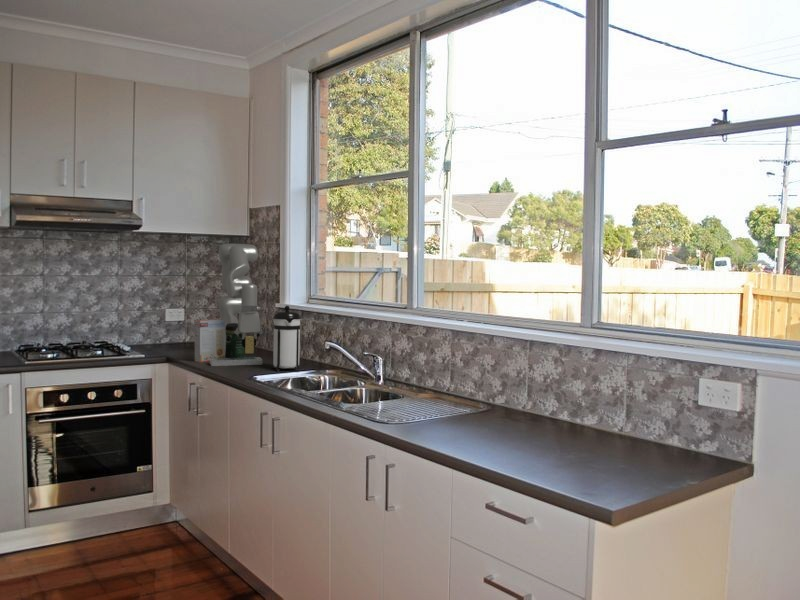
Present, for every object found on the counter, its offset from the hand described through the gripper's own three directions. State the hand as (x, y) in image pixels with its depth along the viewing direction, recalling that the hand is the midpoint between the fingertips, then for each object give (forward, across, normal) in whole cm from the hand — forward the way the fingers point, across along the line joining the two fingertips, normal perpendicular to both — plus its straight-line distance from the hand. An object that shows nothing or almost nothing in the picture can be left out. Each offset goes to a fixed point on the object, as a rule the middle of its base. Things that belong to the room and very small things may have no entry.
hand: (248, 346), depth 351 cm
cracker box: (+9, +17, -15) cm, 25 cm away
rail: (+9, +6, 0) cm, 11 cm away
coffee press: (+9, -14, +19) cm, 25 cm away
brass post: (+3, 0, 0) cm, 3 cm away
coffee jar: (+9, +4, -21) cm, 23 cm away
